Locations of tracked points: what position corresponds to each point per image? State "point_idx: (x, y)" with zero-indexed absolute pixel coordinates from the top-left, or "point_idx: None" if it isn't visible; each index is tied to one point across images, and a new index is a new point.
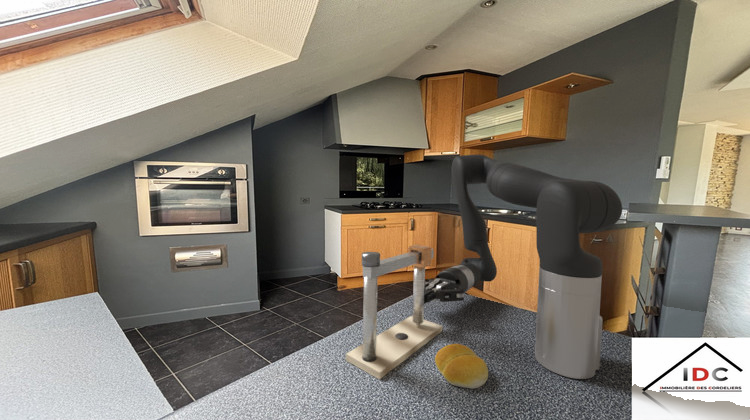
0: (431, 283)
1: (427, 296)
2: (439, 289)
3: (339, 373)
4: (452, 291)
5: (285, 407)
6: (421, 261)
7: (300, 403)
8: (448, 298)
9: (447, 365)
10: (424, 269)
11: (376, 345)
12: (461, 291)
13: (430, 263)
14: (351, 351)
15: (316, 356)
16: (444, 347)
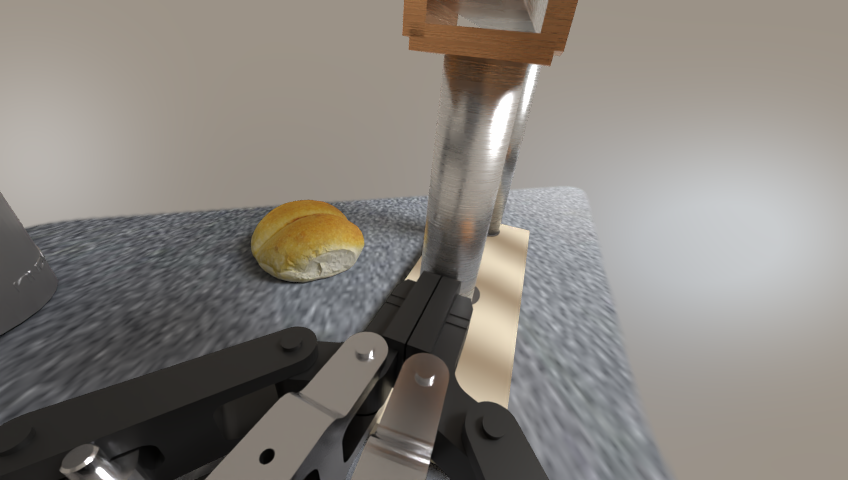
0: (404, 457)
1: (407, 279)
2: (315, 379)
3: (510, 223)
4: (192, 361)
5: (519, 192)
6: (465, 16)
7: (510, 195)
8: (241, 414)
9: (341, 215)
10: (441, 86)
11: (497, 254)
12: (58, 412)
13: (406, 32)
14: (526, 236)
15: (576, 241)
16: (342, 227)
